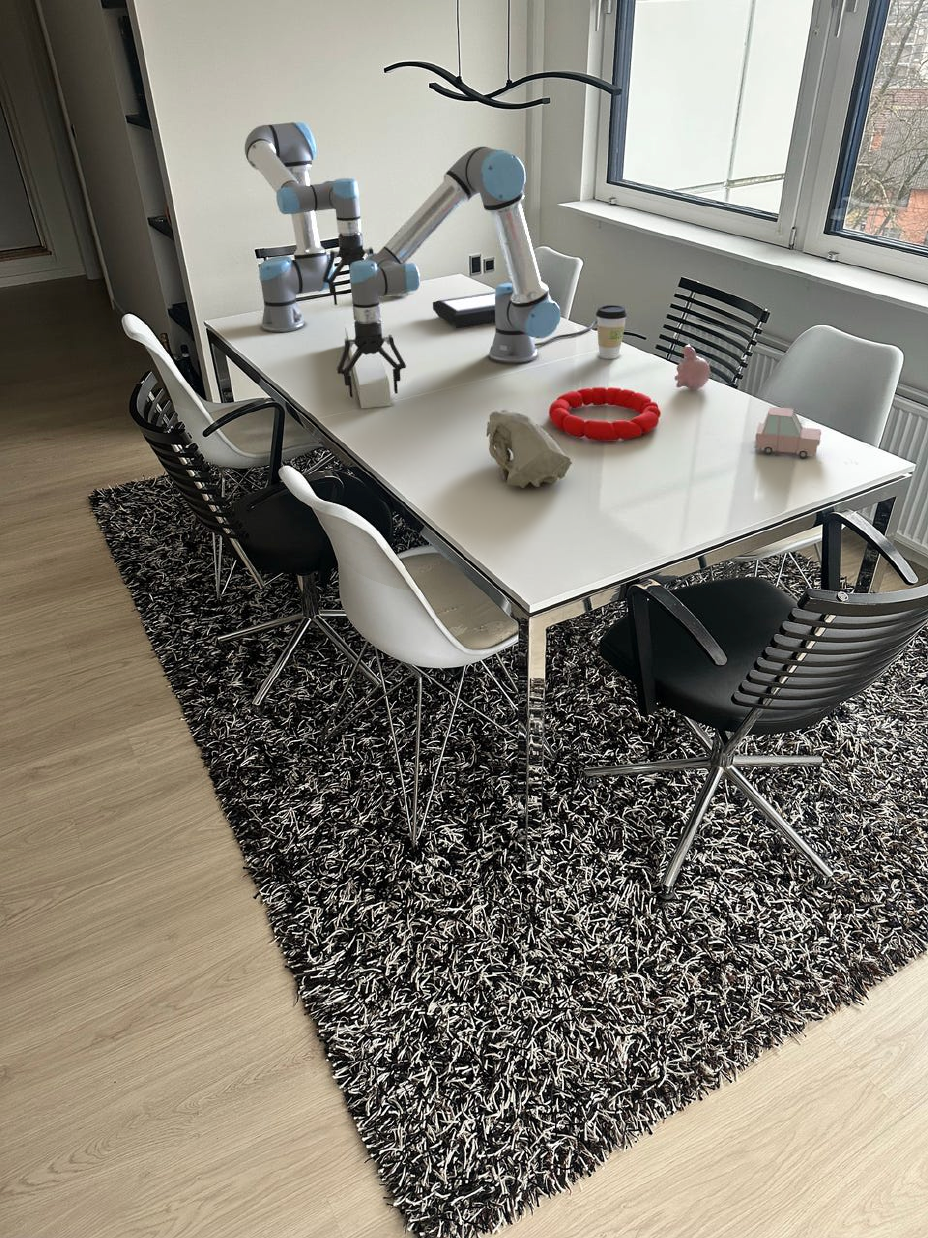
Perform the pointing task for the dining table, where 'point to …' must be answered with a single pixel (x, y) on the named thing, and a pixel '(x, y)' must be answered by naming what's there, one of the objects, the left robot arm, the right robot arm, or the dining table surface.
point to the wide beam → (369, 376)
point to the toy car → (786, 434)
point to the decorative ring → (604, 428)
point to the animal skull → (525, 450)
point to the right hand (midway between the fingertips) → (373, 393)
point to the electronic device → (467, 310)
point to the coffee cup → (610, 329)
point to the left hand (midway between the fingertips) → (356, 302)
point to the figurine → (692, 370)
